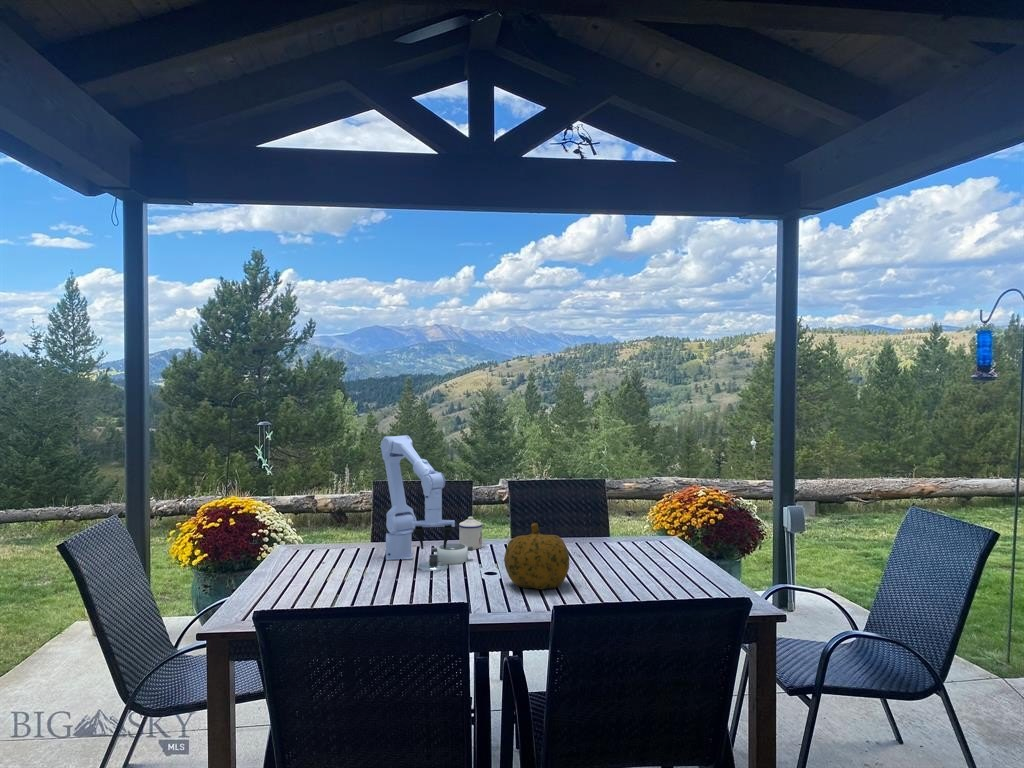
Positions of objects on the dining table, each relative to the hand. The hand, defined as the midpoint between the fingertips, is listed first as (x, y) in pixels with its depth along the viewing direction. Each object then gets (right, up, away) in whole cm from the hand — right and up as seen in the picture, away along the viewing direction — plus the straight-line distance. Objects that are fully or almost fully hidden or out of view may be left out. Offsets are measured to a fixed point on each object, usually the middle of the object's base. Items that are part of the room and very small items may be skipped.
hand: (433, 548), depth 250 cm
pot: (+6, -7, +10) cm, 13 cm away
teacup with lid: (+11, -7, +32) cm, 34 cm away
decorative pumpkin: (+35, -7, -21) cm, 42 cm away
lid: (0, -7, 0) cm, 7 cm away
